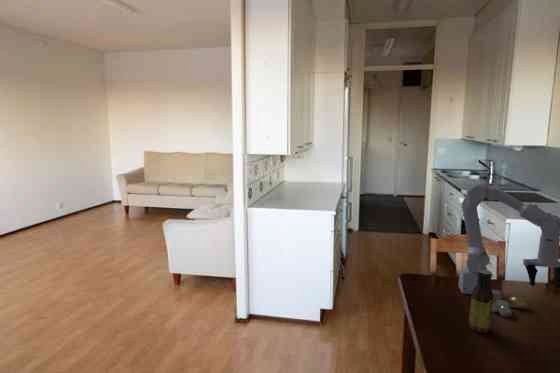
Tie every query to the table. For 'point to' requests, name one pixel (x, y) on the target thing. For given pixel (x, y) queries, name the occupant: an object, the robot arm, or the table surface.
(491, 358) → the table surface
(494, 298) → the valve body
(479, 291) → the sauce bottle
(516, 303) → the coupling
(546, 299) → the table surface
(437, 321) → the table surface
